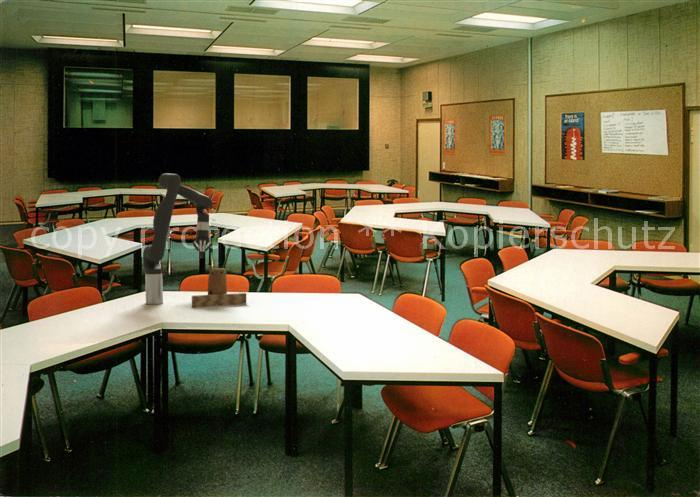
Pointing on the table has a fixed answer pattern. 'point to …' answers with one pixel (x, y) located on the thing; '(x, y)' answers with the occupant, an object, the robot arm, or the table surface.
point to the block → (217, 281)
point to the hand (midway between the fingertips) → (201, 257)
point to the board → (218, 299)
